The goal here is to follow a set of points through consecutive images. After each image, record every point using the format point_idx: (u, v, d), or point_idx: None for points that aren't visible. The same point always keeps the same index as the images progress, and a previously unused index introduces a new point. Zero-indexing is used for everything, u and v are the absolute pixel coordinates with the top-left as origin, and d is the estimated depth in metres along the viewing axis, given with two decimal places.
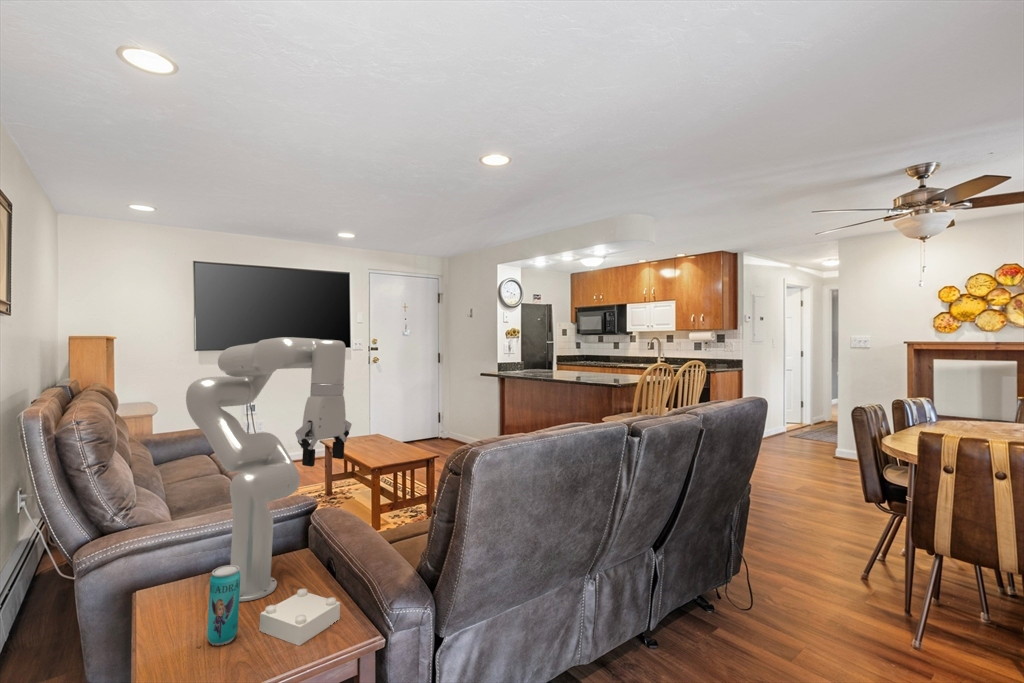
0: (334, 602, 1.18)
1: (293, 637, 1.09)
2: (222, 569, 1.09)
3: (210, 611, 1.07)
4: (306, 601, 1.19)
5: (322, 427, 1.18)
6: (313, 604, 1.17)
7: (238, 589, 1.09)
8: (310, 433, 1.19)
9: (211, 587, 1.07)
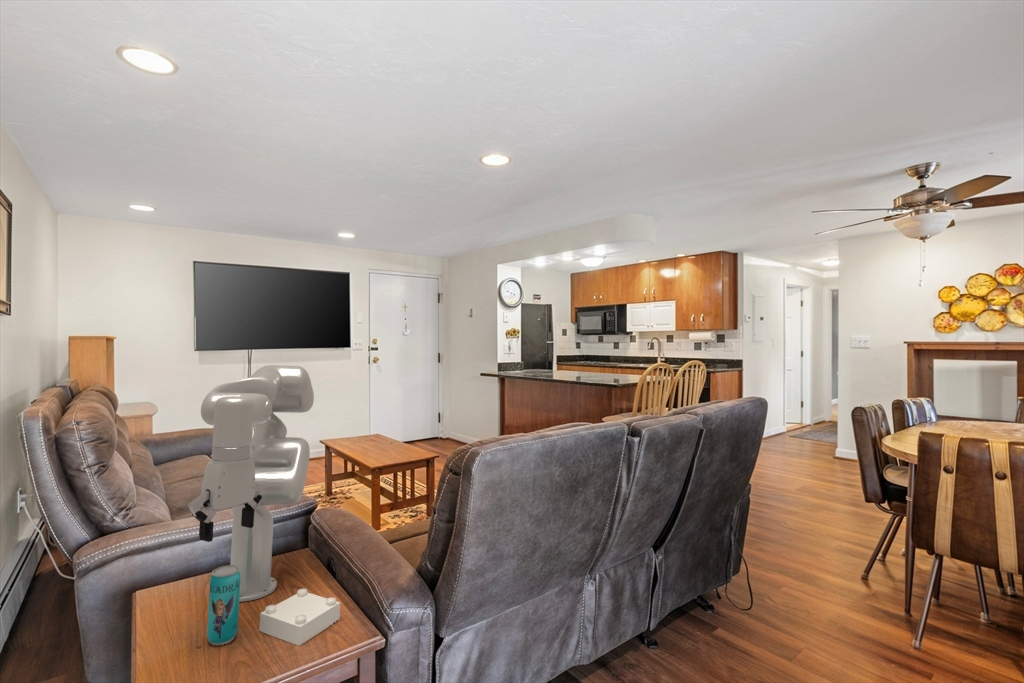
0: (334, 602, 1.18)
1: (293, 637, 1.09)
2: (222, 569, 1.09)
3: (210, 611, 1.07)
4: (306, 601, 1.19)
5: (222, 496, 1.05)
6: (313, 604, 1.17)
7: (238, 589, 1.09)
8: (210, 503, 1.06)
9: (211, 587, 1.07)
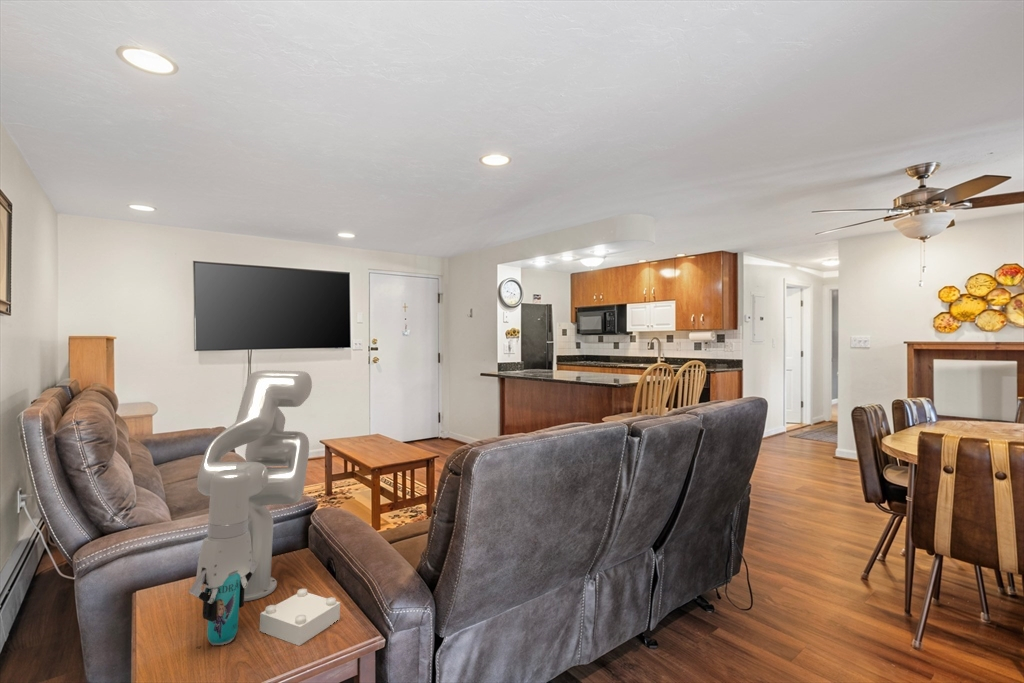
0: (334, 602, 1.18)
1: (293, 637, 1.09)
2: None
3: None
4: (306, 601, 1.19)
5: (218, 574, 1.05)
6: (313, 604, 1.17)
7: (238, 589, 1.09)
8: (206, 580, 1.06)
9: None
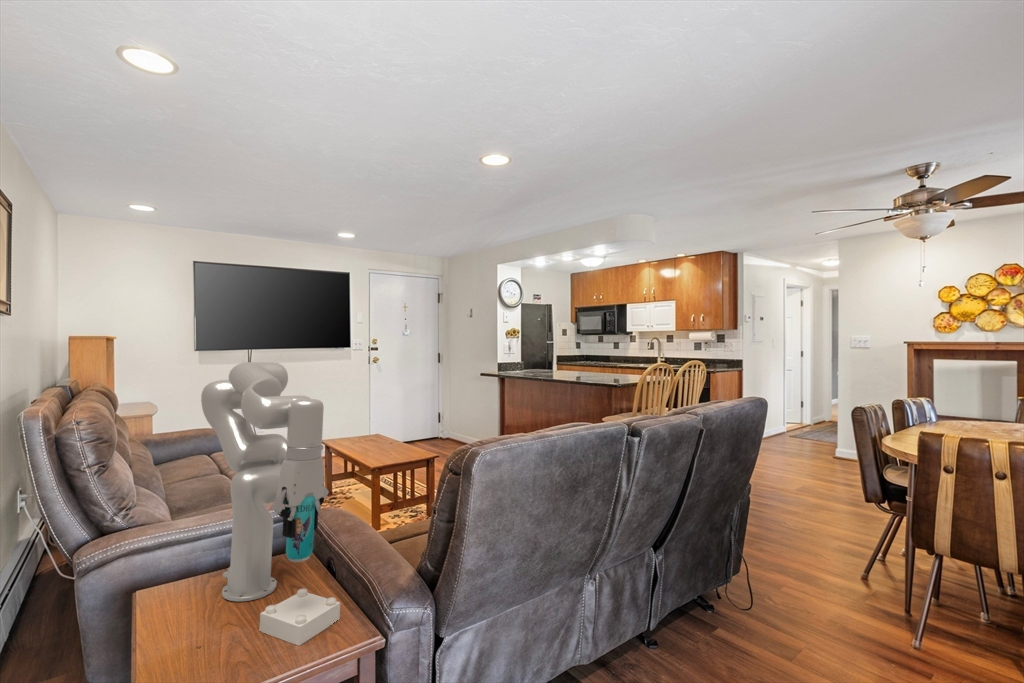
0: (334, 602, 1.18)
1: (293, 637, 1.09)
2: None
3: None
4: (306, 601, 1.19)
5: (297, 493, 1.12)
6: (313, 604, 1.17)
7: (314, 510, 1.16)
8: (285, 499, 1.13)
9: None
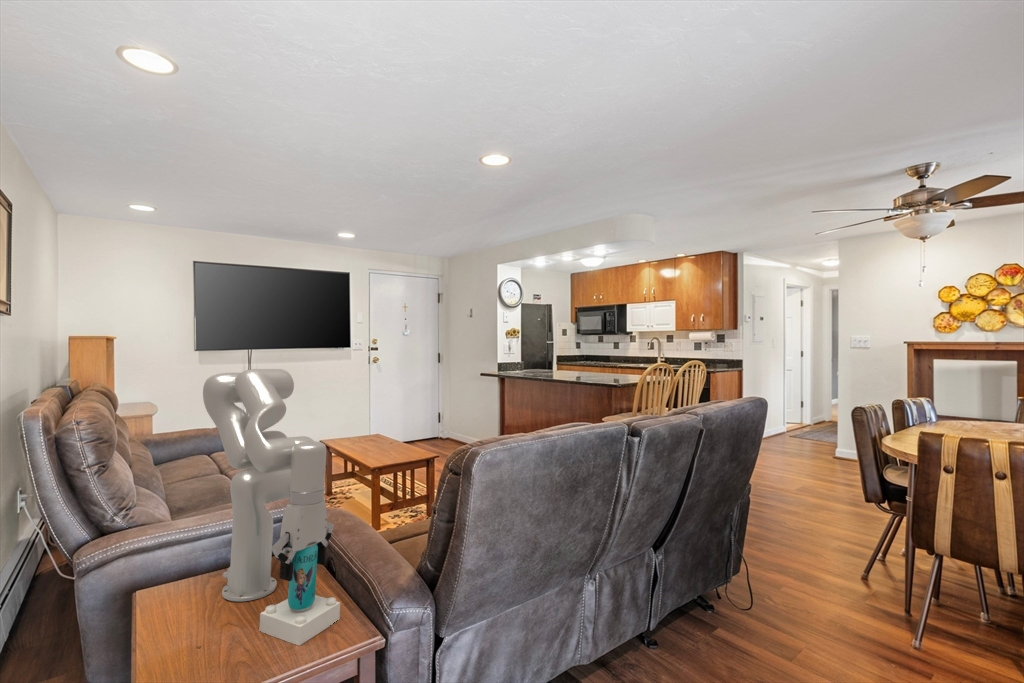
0: (334, 602, 1.18)
1: (293, 637, 1.09)
2: None
3: (292, 579, 1.14)
4: None
5: (300, 538, 1.12)
6: (313, 604, 1.17)
7: (316, 560, 1.16)
8: (288, 544, 1.13)
9: (293, 557, 1.14)
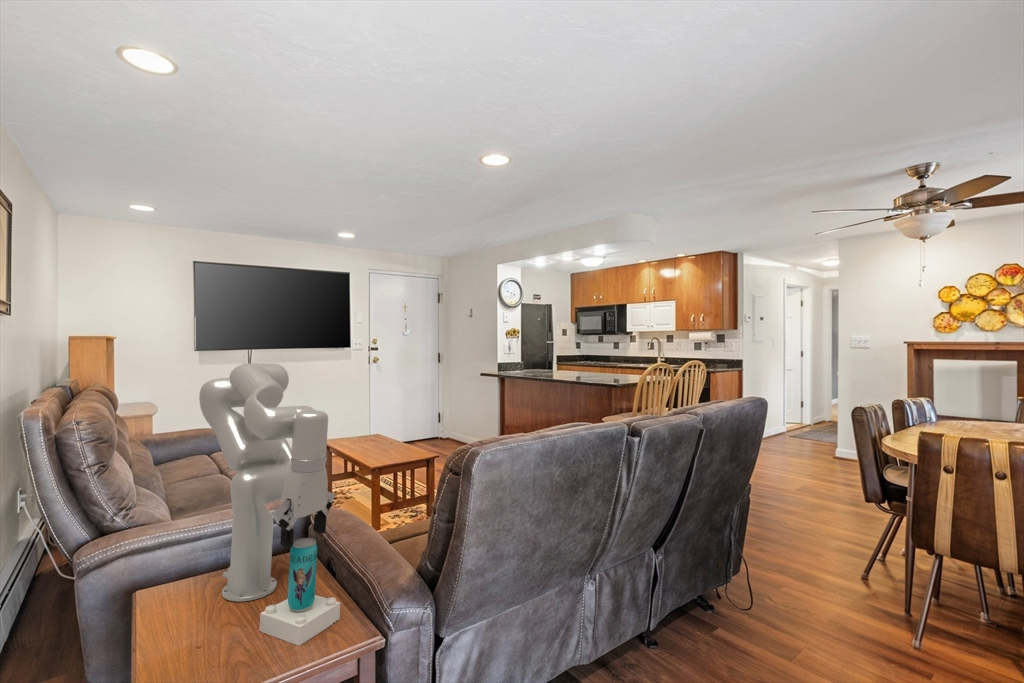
0: (334, 602, 1.18)
1: (293, 637, 1.09)
2: (300, 541, 1.16)
3: (291, 580, 1.14)
4: None
5: (301, 505, 1.13)
6: (313, 604, 1.17)
7: (315, 560, 1.16)
8: (289, 511, 1.14)
9: (292, 557, 1.14)
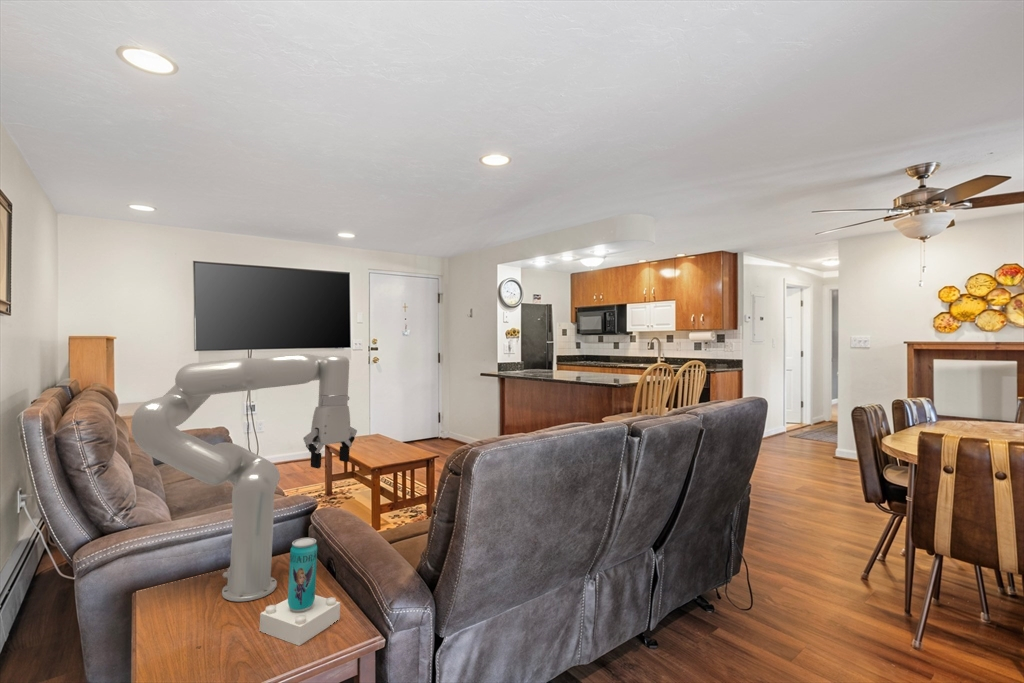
0: (334, 602, 1.18)
1: (293, 637, 1.09)
2: (301, 541, 1.17)
3: (291, 579, 1.14)
4: None
5: (327, 433, 1.33)
6: (313, 604, 1.17)
7: (316, 560, 1.16)
8: (317, 439, 1.34)
9: (292, 557, 1.14)
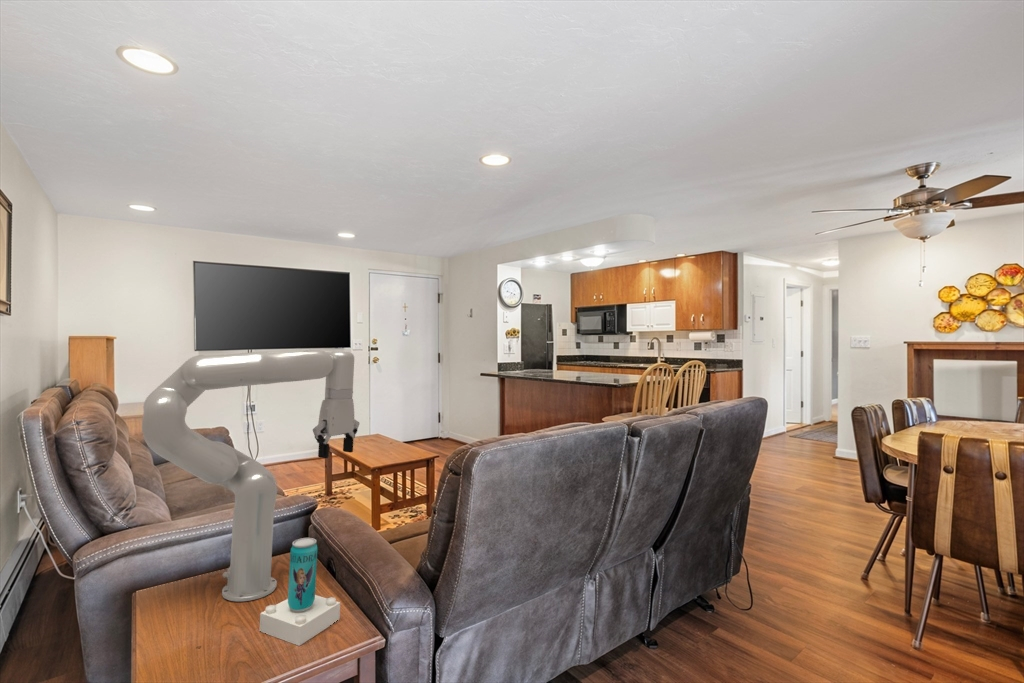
0: (334, 602, 1.18)
1: (293, 637, 1.09)
2: (301, 541, 1.16)
3: (291, 580, 1.14)
4: None
5: (335, 425, 1.40)
6: (313, 604, 1.17)
7: (316, 560, 1.16)
8: (325, 430, 1.41)
9: (292, 557, 1.14)
